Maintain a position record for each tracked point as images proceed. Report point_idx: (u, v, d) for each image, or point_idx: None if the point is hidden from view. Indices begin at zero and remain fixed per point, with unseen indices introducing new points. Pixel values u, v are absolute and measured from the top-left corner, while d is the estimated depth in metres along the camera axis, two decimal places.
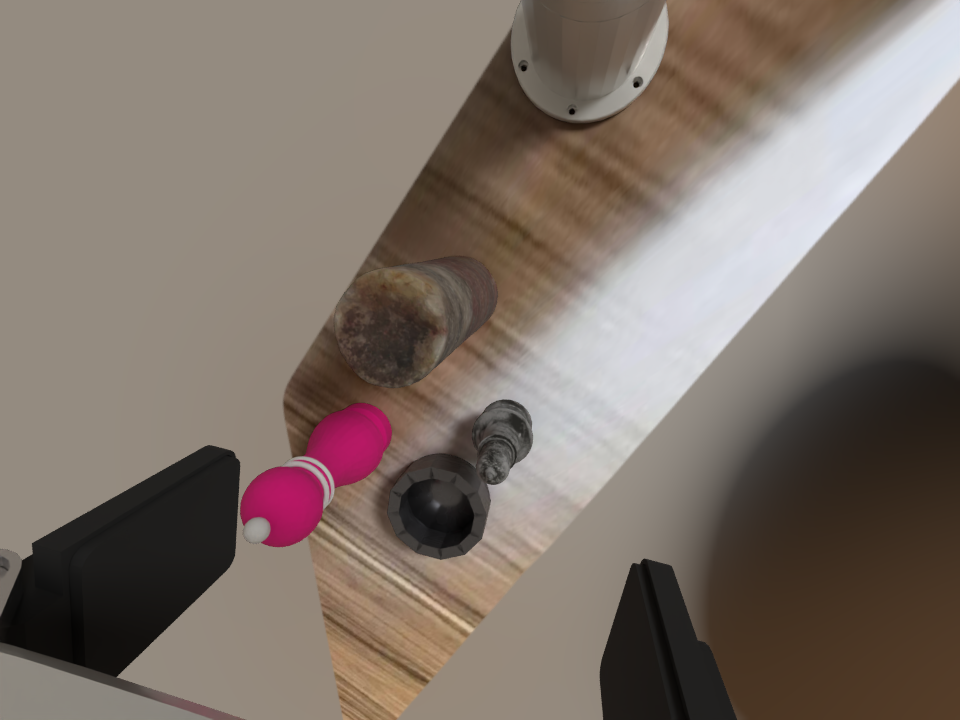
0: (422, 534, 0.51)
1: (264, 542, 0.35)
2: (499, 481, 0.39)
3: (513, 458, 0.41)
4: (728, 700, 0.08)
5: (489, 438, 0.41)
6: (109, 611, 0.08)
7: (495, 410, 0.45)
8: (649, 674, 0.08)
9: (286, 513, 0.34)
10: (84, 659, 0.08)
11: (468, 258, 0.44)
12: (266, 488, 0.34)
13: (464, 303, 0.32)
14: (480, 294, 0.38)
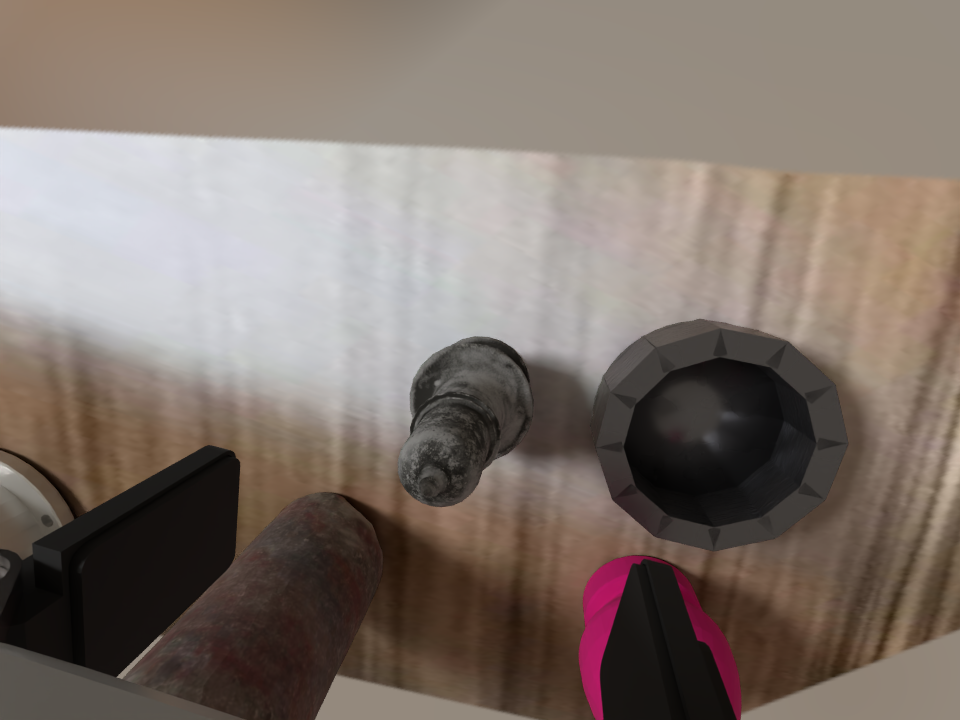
0: (797, 437, 0.22)
1: None
2: (447, 446, 0.15)
3: (439, 402, 0.18)
4: (728, 700, 0.08)
5: None
6: (109, 611, 0.08)
7: None
8: (649, 674, 0.08)
9: None
10: (84, 659, 0.08)
11: None
12: None
13: None
14: None
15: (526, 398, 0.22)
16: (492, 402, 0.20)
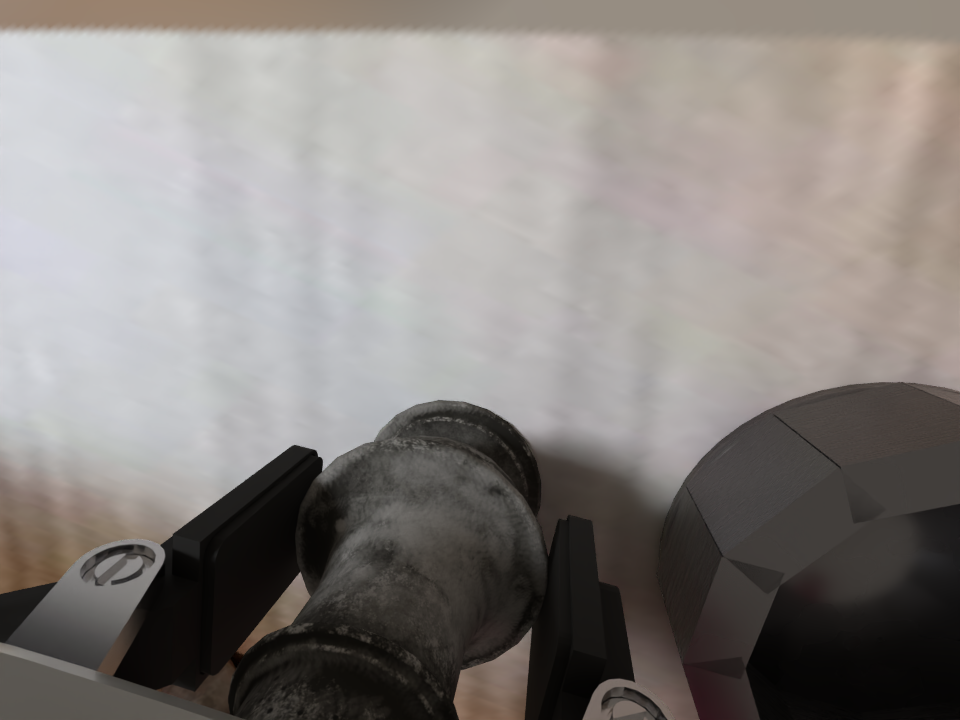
0: None
1: None
2: None
3: (291, 654, 0.07)
4: (625, 629, 0.09)
5: None
6: (230, 597, 0.09)
7: None
8: (554, 605, 0.09)
9: None
10: (211, 641, 0.08)
11: None
12: None
13: None
14: None
15: (534, 559, 0.10)
16: (451, 600, 0.08)
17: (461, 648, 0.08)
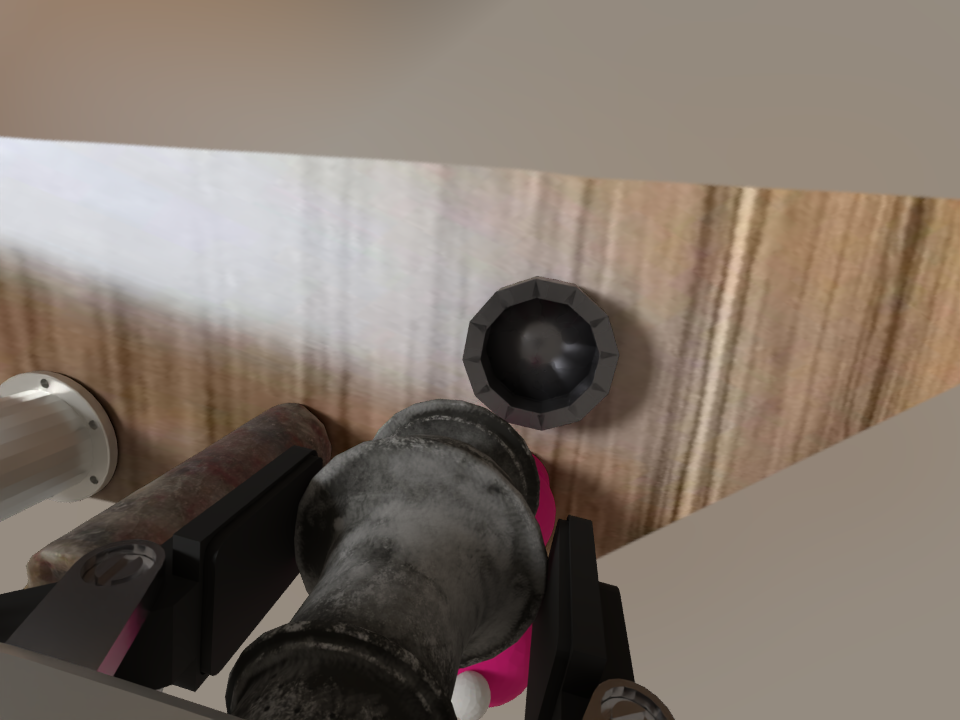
0: (596, 354, 0.33)
1: (512, 667, 0.21)
2: None
3: (289, 652, 0.07)
4: (625, 629, 0.09)
5: None
6: (230, 597, 0.09)
7: None
8: (554, 605, 0.09)
9: None
10: (211, 641, 0.08)
11: None
12: None
13: None
14: None
15: (533, 557, 0.10)
16: (450, 599, 0.08)
17: (459, 646, 0.08)
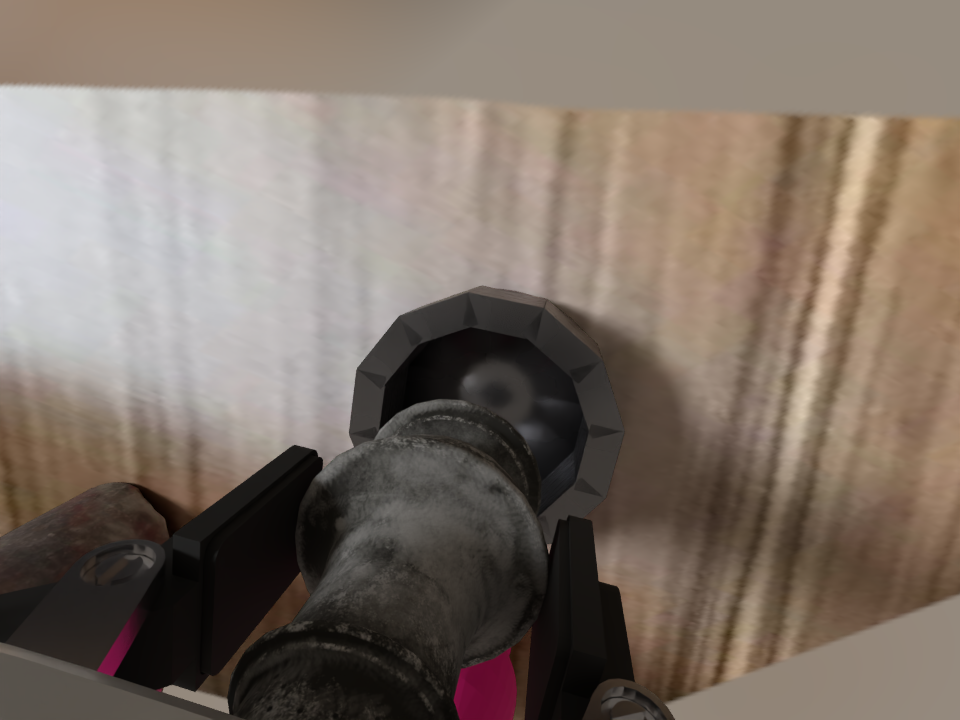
0: (585, 424, 0.19)
1: None
2: None
3: (291, 652, 0.07)
4: (624, 629, 0.09)
5: None
6: (230, 597, 0.09)
7: None
8: (553, 605, 0.09)
9: None
10: (211, 641, 0.08)
11: None
12: None
13: None
14: None
15: (534, 557, 0.10)
16: (452, 599, 0.08)
17: (461, 646, 0.08)
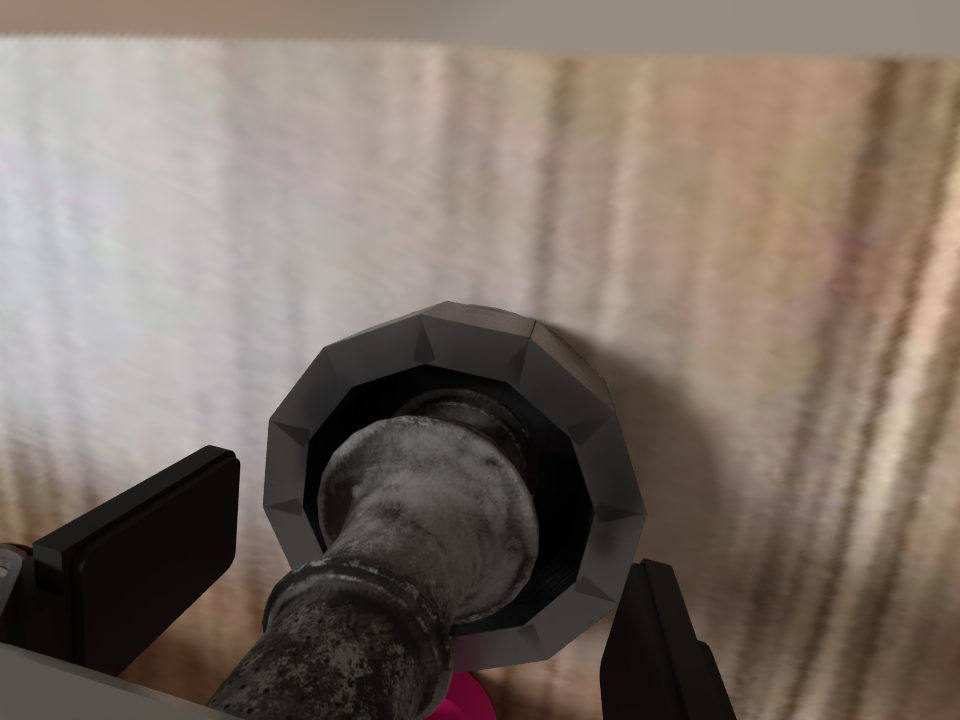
0: (588, 495, 0.13)
1: None
2: None
3: (313, 582, 0.08)
4: (728, 700, 0.08)
5: None
6: (109, 611, 0.08)
7: None
8: (649, 674, 0.08)
9: None
10: (84, 659, 0.08)
11: None
12: None
13: None
14: None
15: (525, 523, 0.11)
16: (449, 552, 0.10)
17: (457, 591, 0.10)
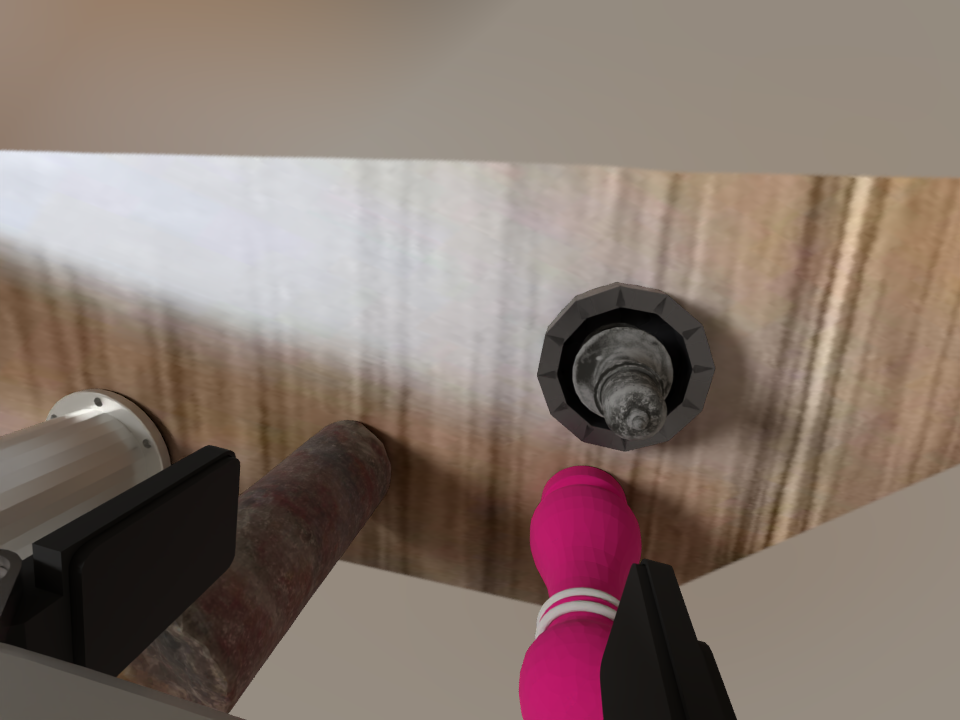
0: (686, 367, 0.30)
1: None
2: (647, 395, 0.22)
3: (619, 369, 0.25)
4: (728, 700, 0.08)
5: None
6: (109, 611, 0.08)
7: (587, 404, 0.29)
8: (649, 674, 0.08)
9: (549, 716, 0.19)
10: (84, 659, 0.08)
11: None
12: None
13: None
14: None
15: (668, 368, 0.28)
16: None
17: None
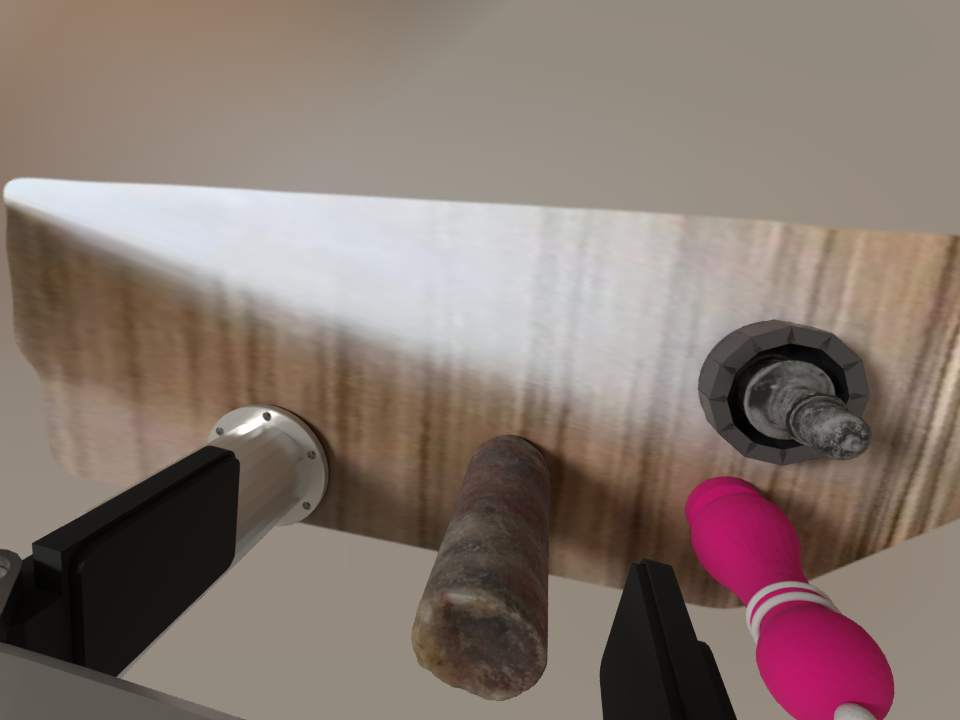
0: (837, 394, 0.35)
1: (885, 699, 0.23)
2: (858, 423, 0.26)
3: (812, 399, 0.30)
4: (728, 700, 0.08)
5: (798, 438, 0.30)
6: (109, 611, 0.08)
7: (756, 425, 0.34)
8: (649, 674, 0.08)
9: (812, 682, 0.23)
10: (84, 659, 0.08)
11: None
12: (789, 708, 0.24)
13: (449, 539, 0.29)
14: (465, 491, 0.35)
15: None
16: None
17: None
